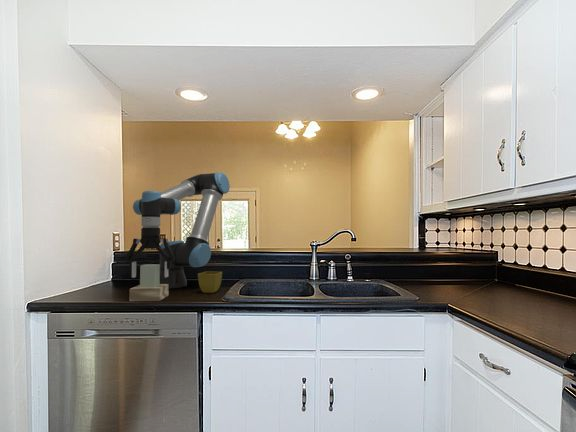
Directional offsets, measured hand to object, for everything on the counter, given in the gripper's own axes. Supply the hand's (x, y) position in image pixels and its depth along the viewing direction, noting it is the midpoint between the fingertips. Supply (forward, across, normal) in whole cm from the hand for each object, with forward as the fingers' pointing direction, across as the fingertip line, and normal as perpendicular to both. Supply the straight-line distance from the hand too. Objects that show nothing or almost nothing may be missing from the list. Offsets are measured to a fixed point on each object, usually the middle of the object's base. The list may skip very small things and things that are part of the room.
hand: (150, 277), depth 144 cm
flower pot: (+9, +23, +13) cm, 28 cm away
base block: (+9, 0, 0) cm, 9 cm away
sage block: (+4, 0, 0) cm, 4 cm away
